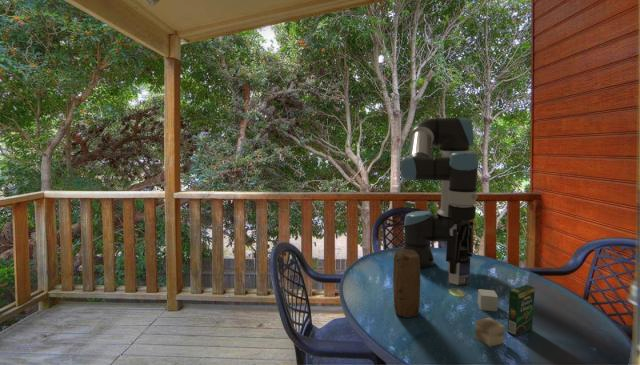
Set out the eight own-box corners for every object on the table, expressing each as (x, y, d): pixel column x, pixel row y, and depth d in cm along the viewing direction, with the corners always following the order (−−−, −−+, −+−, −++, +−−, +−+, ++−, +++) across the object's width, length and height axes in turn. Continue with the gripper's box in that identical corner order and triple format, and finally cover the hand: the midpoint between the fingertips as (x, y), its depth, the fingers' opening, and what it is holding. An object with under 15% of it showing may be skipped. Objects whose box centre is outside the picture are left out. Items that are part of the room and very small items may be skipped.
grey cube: (477, 303, 117) (478, 289, 117) (493, 304, 116) (494, 290, 116) (480, 309, 113) (481, 295, 112) (497, 311, 111) (498, 297, 111)
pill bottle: (472, 282, 104) (473, 247, 103) (465, 288, 100) (466, 252, 98) (451, 277, 108) (453, 243, 107) (444, 283, 104) (445, 247, 102)
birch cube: (475, 337, 97) (475, 320, 96) (488, 333, 99) (489, 317, 98) (489, 347, 92) (490, 329, 92) (503, 343, 94) (504, 326, 93)
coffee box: (515, 337, 96) (518, 293, 95) (506, 332, 99) (509, 289, 97) (533, 330, 100) (536, 287, 99) (523, 325, 103) (526, 283, 101)
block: (420, 319, 106) (422, 257, 104) (396, 318, 107) (397, 256, 105) (413, 303, 117) (414, 246, 115) (391, 302, 118) (392, 246, 115)
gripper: (461, 211, 92) (457, 293, 95) (486, 202, 105) (482, 274, 108) (434, 207, 97) (431, 285, 100) (462, 199, 110) (458, 268, 113)
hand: (458, 279), depth 104 cm, fingers closed on pill bottle, 6 cm apart
